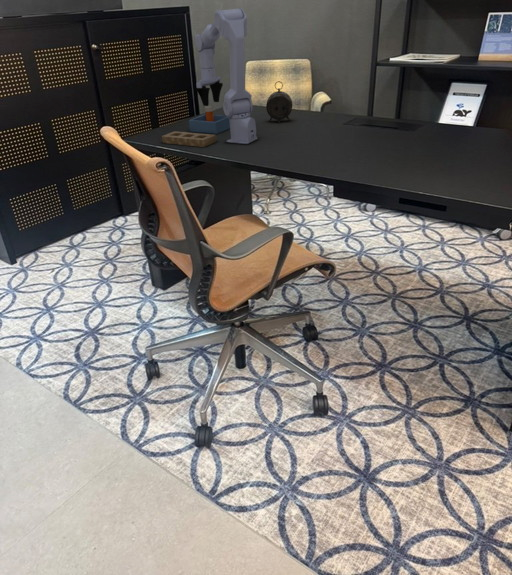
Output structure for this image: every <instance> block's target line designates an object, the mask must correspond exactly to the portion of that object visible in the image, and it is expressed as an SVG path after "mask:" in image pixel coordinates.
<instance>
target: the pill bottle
mask: <svg viewBox="0 0 512 575" xmlns="http://www.w3.org/2000/svg"><path fill="white" fill-rule="evenodd" d="M204 114H206V121H211V122H214V116H213V115H214V106H212V105H208V106H204Z"/></svg>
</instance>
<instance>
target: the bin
mask: <svg viewBox="0 0 512 575" xmlns="http://www.w3.org/2000/svg"><path fill="white" fill-rule="evenodd" d="M213 116H214V122H211V121H206V114H205V113H204V114H201V115H199V116H197V117H194V118H191V119H189V120H188V127H189V133H200V134H211V135H218V134H220V133H222V132H225V131H227V130H230V122H229V118H228V117H227V116H226V115H221V114H213Z"/></svg>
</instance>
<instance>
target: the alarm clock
mask: <svg viewBox="0 0 512 575" xmlns="http://www.w3.org/2000/svg"><path fill="white" fill-rule="evenodd" d="M278 83H280V84H281V87H280V88H277V87H276V85H277V84H278ZM283 87H284V84H283V82H282V81H275V83H274V89H276V90H277V91H274V92H273V93H271V94H270V95H269V96H268V98H267V100H266V105H265V110H266V113H267V114H268V115H269V117H270V119H269V120H268V121H269V122H271V120H277V121H278V122H277V123H281V120H284V119H287V120H288V121H289V122H290V121H291V119H290V117H289V116H290V115H291V113H292V111H293V100H292V98H291V96H290V95H289V93H287V92H285V91H281V90H282V89H283Z"/></svg>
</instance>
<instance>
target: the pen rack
mask: <svg viewBox="0 0 512 575" xmlns="http://www.w3.org/2000/svg"><path fill="white" fill-rule="evenodd" d="M216 135H217V134H212V133H200V132H188V131H187V132H186V131H176V130H175V131H174V130H173V131H171V132H168V133H166V134H164V135H161V140H162V143H163V144H169V145H170V144H171V145H179V146H188V147H189V146H190V147H200V148H206V147H207V146H210V145H212V144H214V143H216V142H217V136H216Z"/></svg>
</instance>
